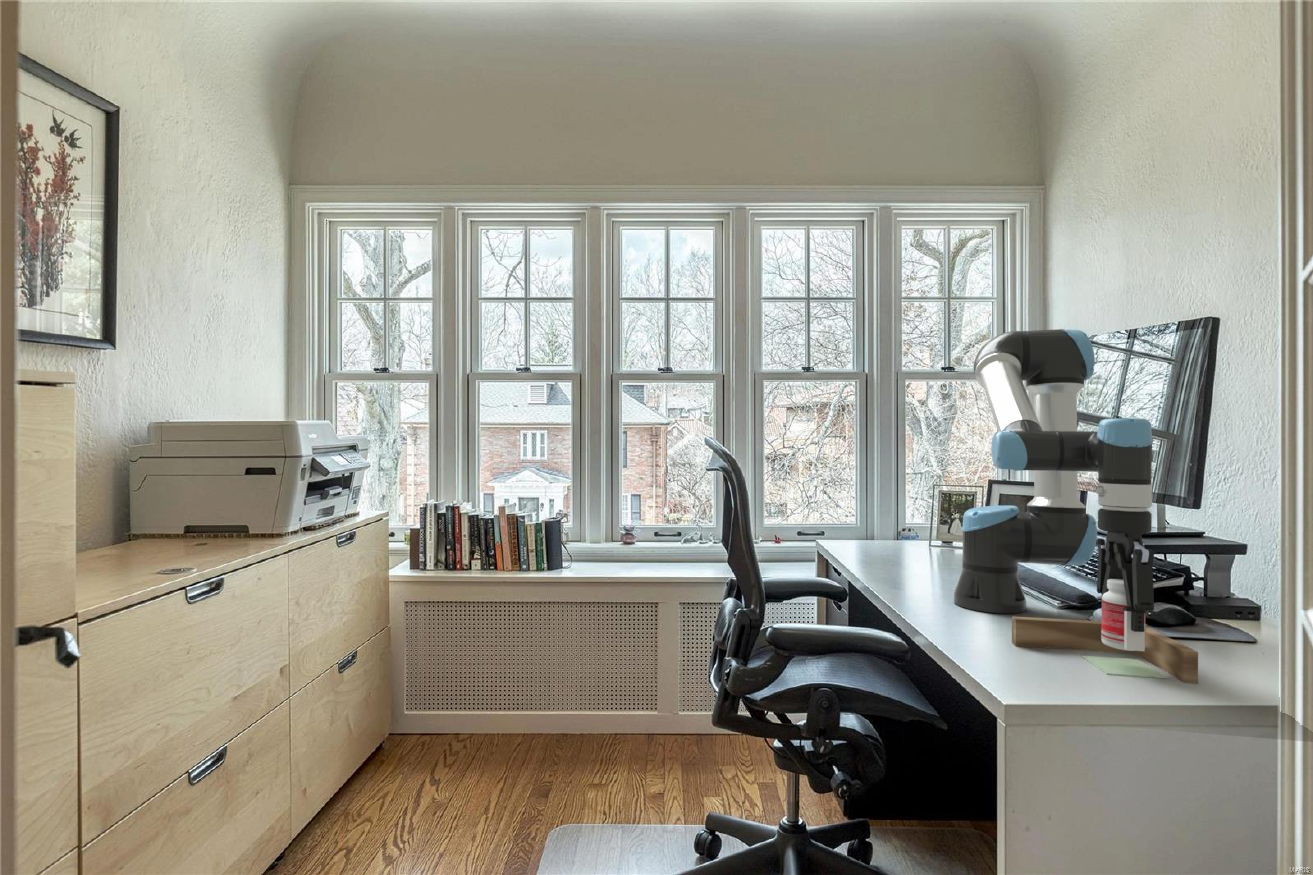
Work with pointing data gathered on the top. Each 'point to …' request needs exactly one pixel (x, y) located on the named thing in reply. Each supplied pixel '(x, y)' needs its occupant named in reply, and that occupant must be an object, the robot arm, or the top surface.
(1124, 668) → the pad
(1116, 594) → the pill bottle
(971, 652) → the top surface
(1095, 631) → the corner barrier
